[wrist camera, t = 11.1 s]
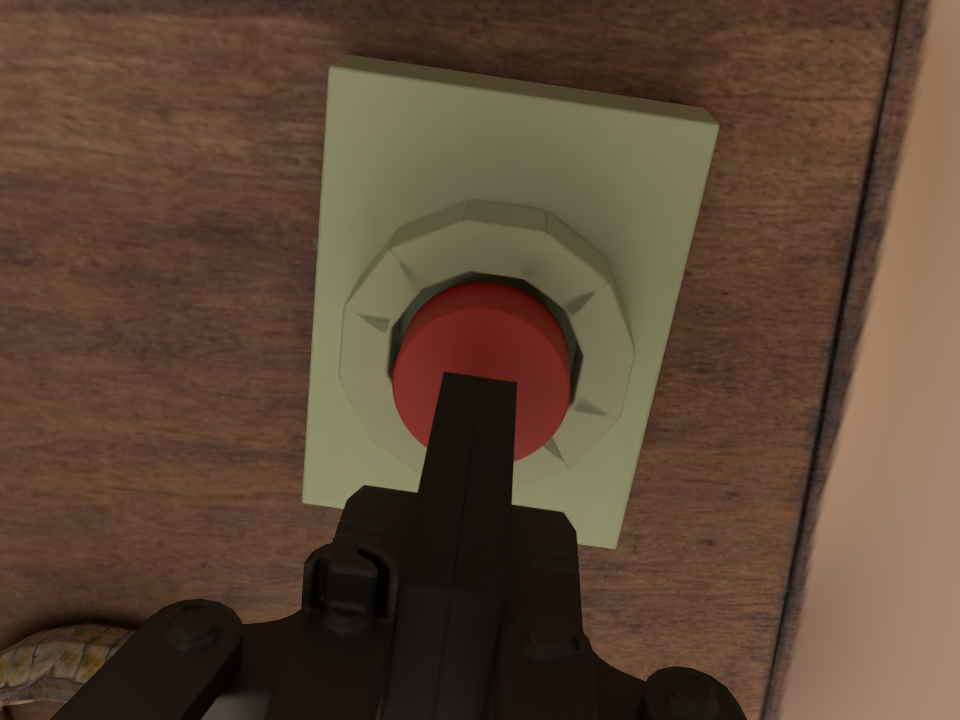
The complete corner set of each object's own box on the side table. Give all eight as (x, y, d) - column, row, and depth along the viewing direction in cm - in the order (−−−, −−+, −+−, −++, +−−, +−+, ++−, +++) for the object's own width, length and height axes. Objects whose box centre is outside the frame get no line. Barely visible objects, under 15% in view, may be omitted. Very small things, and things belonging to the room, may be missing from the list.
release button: (411, 268, 21) (400, 295, 20) (582, 293, 21) (585, 323, 20) (394, 418, 23) (384, 454, 21) (553, 441, 23) (554, 479, 21)
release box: (346, 53, 23) (309, 77, 19) (705, 107, 23) (736, 141, 19) (318, 462, 28) (284, 542, 24) (611, 506, 28) (621, 592, 24)
